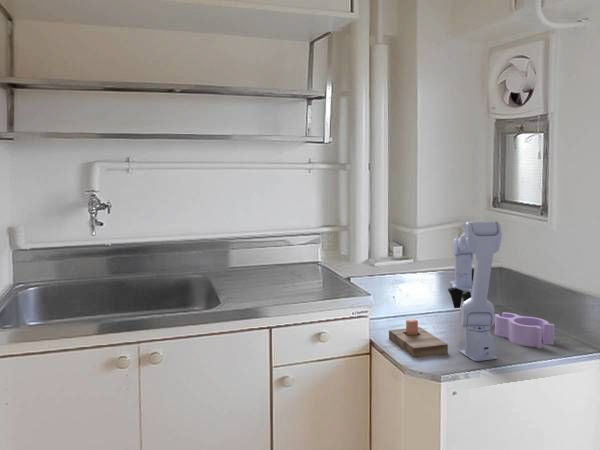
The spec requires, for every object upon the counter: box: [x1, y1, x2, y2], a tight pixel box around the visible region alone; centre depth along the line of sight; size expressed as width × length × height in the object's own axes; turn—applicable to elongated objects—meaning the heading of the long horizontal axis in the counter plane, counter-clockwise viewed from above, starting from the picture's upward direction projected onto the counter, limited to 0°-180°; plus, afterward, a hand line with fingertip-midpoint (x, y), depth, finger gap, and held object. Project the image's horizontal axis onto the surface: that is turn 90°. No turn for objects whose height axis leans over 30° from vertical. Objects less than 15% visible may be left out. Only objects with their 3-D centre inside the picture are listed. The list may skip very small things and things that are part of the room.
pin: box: [405, 318, 419, 336], centre depth 189 cm, size 4×4×7 cm
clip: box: [494, 311, 555, 349], centre depth 190 cm, size 20×12×7 cm, turn 30°
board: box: [388, 326, 449, 358], centre depth 186 cm, size 20×12×3 cm, turn 14°
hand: (462, 310), depth 193 cm, fingers open, 7 cm apart
